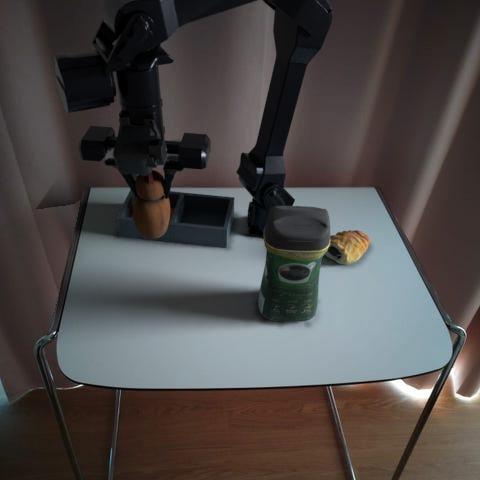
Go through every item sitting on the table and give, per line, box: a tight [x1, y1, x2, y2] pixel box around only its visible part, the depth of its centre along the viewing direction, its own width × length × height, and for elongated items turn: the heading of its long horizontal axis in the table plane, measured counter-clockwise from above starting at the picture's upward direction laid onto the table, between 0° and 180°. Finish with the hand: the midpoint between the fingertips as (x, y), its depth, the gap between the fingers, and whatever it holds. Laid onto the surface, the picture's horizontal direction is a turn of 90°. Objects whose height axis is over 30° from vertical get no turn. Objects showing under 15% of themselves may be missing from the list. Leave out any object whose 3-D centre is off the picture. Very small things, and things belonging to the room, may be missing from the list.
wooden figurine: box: [133, 169, 170, 240], centre depth 79 cm, size 7×6×15 cm
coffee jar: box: [257, 205, 331, 323], centre depth 75 cm, size 10×8×19 cm
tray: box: [115, 189, 235, 248], centre depth 94 cm, size 20×11×4 cm, turn 83°
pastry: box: [323, 229, 371, 265], centre depth 91 cm, size 9×7×4 cm
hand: (151, 196), depth 80 cm, fingers closed on wooden figurine, 4 cm apart
